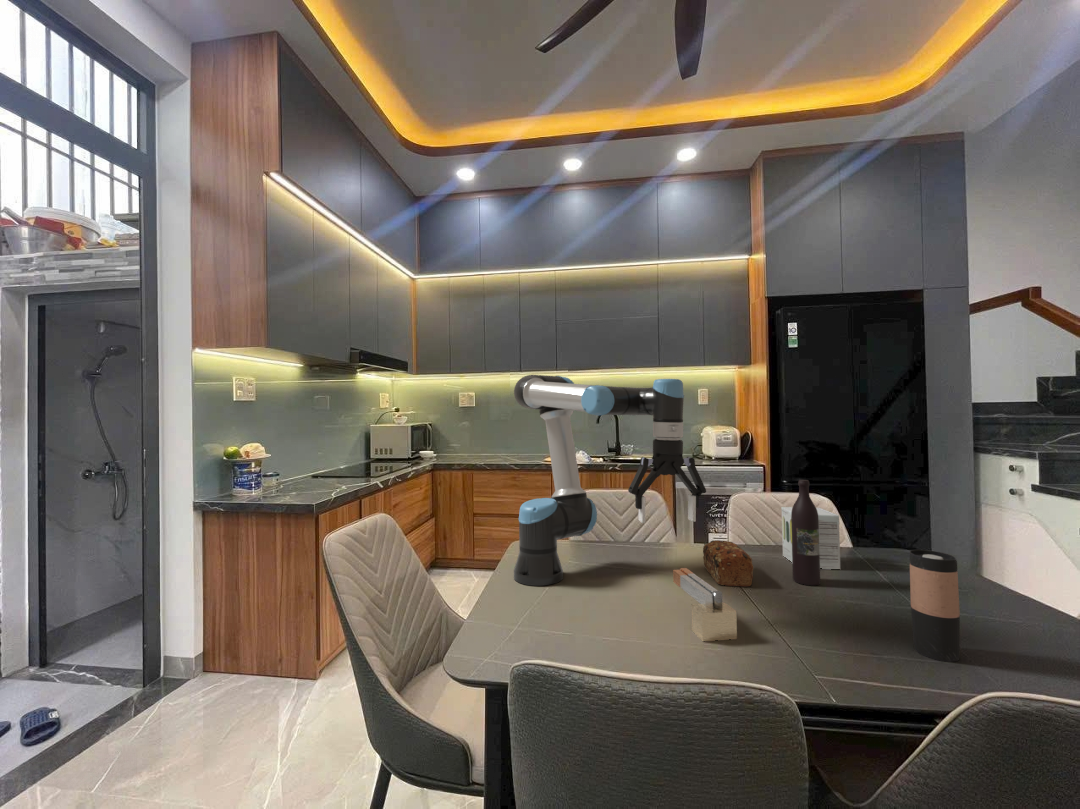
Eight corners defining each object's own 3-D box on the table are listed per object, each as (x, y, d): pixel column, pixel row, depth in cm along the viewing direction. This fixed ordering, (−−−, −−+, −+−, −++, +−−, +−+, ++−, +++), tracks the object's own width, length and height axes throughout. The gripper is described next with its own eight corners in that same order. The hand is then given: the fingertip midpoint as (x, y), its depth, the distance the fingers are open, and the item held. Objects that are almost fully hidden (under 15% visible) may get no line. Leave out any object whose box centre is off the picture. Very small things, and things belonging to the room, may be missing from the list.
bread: (754, 588, 130) (753, 553, 130) (715, 586, 131) (714, 551, 132) (735, 567, 148) (735, 536, 149) (702, 566, 150) (701, 535, 150)
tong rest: (665, 605, 118) (665, 570, 118) (694, 603, 119) (694, 568, 119) (702, 641, 99) (701, 599, 99) (736, 639, 100) (736, 597, 100)
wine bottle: (794, 584, 132) (791, 481, 133) (791, 576, 139) (788, 478, 140) (822, 587, 130) (819, 482, 131) (817, 579, 136) (815, 479, 137)
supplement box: (781, 556, 159) (780, 506, 160) (821, 557, 158) (820, 507, 158) (797, 568, 146) (796, 514, 147) (841, 570, 145) (840, 515, 145)
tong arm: (679, 580, 119) (679, 568, 119) (687, 580, 119) (686, 567, 119) (715, 608, 101) (715, 594, 101) (724, 608, 101) (723, 593, 101)
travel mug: (902, 644, 97) (899, 550, 97) (935, 643, 97) (932, 548, 98) (936, 663, 89) (932, 561, 90) (972, 661, 90) (968, 559, 90)
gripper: (626, 439, 112) (625, 525, 112) (720, 439, 115) (719, 523, 115) (616, 437, 119) (615, 518, 119) (705, 437, 123) (704, 516, 123)
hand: (667, 521), depth 117 cm, fingers open, 13 cm apart
